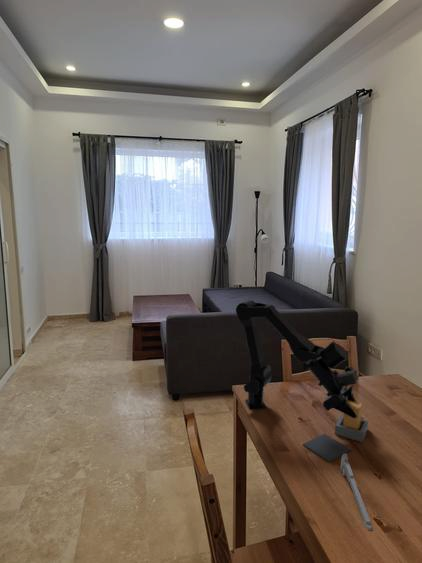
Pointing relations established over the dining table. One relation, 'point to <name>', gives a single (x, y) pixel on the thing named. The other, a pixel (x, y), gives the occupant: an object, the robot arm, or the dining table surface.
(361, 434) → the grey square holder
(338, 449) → the mat
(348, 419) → the block
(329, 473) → the dining table surface
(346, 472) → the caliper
